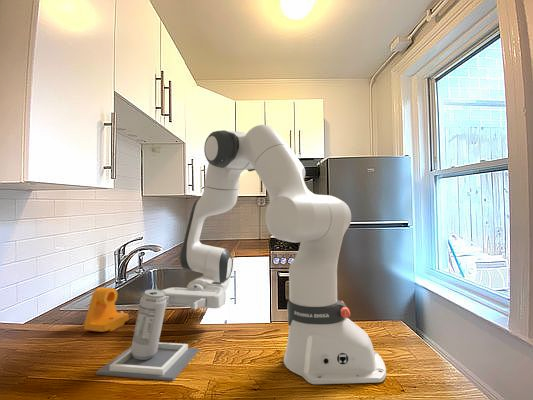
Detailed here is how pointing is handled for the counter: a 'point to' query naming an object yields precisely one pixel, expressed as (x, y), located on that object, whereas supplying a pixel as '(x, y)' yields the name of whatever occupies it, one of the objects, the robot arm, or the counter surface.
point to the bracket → (104, 311)
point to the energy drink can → (148, 324)
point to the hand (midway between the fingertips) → (176, 305)
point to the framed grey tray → (151, 363)
